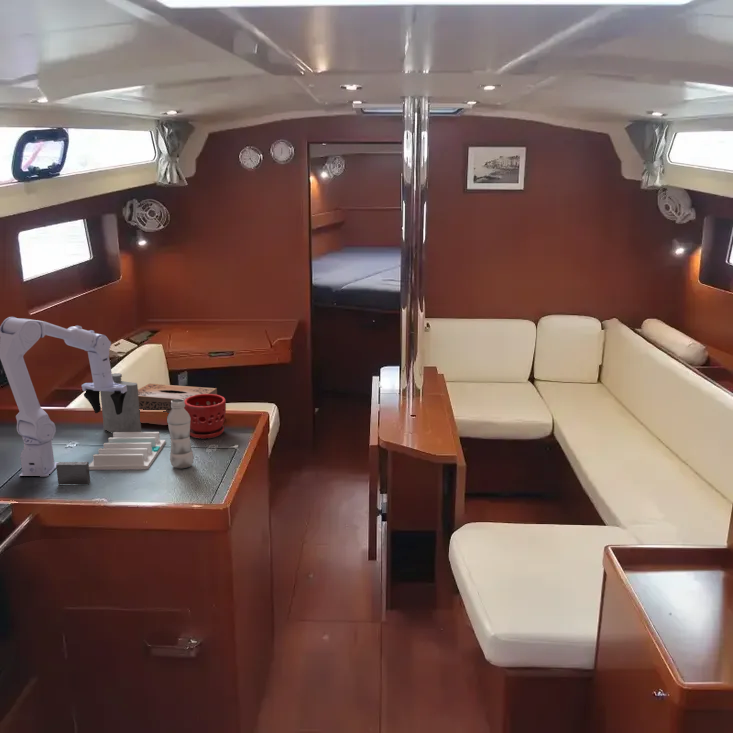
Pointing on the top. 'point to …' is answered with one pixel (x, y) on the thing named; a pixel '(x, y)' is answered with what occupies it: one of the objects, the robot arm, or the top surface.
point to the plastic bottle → (180, 435)
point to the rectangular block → (73, 472)
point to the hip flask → (130, 410)
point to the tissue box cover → (168, 395)
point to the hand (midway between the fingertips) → (108, 412)
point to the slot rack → (128, 451)
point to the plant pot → (206, 415)
